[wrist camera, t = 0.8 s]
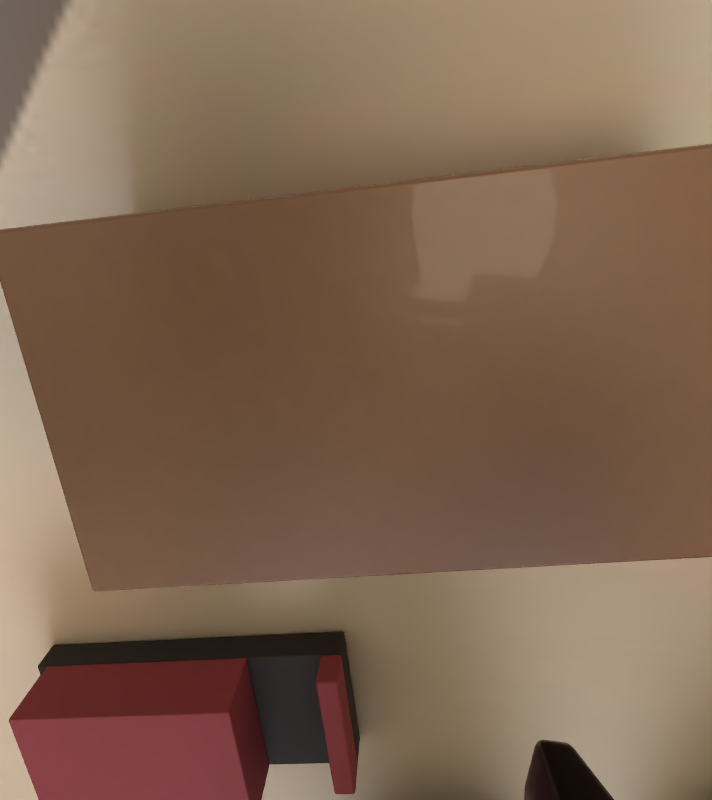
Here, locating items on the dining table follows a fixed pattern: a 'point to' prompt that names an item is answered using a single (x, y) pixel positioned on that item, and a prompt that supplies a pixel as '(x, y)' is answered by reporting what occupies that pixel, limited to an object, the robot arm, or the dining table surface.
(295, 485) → the shoebox
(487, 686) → the dining table surface
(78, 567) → the dining table surface
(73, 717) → the dark red two-tone block
